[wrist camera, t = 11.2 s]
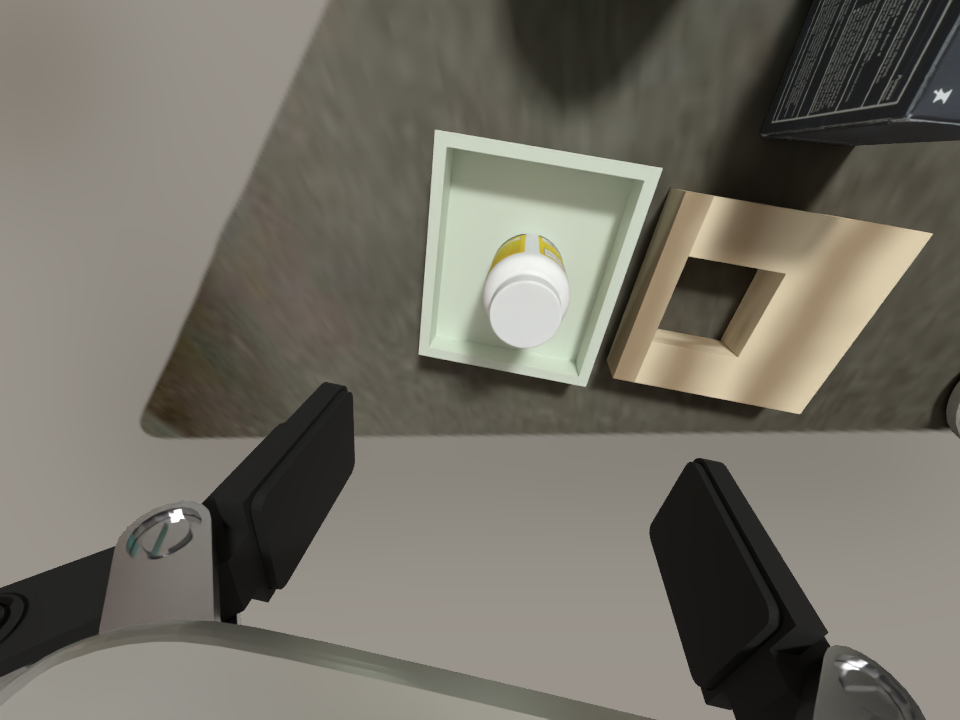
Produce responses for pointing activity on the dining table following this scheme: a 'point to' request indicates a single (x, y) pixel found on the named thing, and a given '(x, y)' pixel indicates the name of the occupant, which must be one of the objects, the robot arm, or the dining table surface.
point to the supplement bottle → (526, 291)
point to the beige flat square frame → (760, 298)
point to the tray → (527, 209)
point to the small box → (872, 75)
